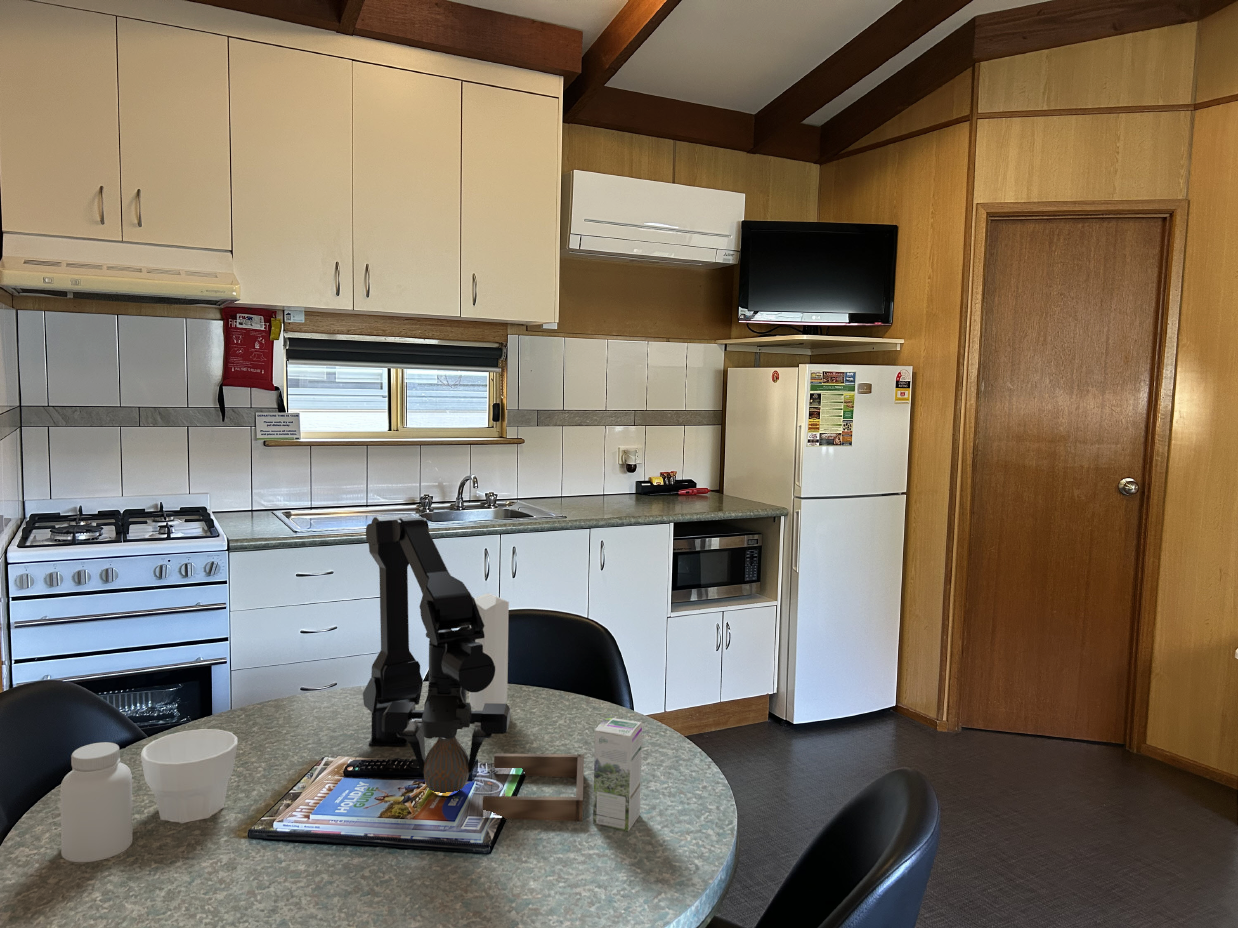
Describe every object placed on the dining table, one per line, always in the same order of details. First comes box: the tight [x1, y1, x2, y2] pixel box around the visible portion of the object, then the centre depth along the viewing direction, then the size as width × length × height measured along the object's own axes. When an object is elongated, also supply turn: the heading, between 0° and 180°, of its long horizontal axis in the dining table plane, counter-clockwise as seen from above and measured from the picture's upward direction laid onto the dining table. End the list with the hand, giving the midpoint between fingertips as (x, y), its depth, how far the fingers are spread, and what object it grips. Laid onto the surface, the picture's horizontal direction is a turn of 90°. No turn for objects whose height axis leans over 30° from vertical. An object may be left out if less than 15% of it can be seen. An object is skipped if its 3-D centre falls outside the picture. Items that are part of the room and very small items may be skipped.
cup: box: [140, 728, 239, 824], centre depth 123 cm, size 12×12×11 cm
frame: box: [482, 753, 585, 822], centre depth 133 cm, size 14×16×4 cm
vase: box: [423, 735, 470, 793], centre depth 133 cm, size 7×7×9 cm
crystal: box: [468, 592, 510, 711], centre depth 165 cm, size 7×7×24 cm
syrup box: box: [592, 717, 643, 832], centre depth 126 cm, size 6×6×14 cm
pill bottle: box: [59, 741, 133, 863], centre depth 112 cm, size 8×8×15 cm
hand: (446, 771), depth 133 cm, fingers closed on vase, 7 cm apart
